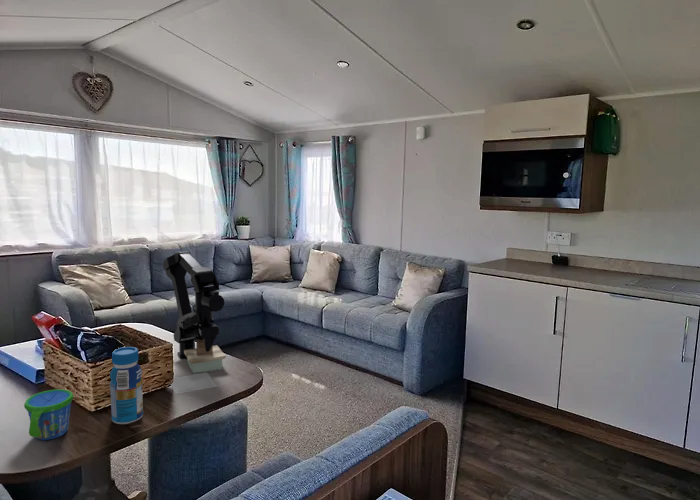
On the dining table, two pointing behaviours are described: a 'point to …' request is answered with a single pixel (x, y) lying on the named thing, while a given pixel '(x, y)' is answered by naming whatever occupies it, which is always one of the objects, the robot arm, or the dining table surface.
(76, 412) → the dining table surface
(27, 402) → the snack cup
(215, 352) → the lid
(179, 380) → the mat
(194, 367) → the dish
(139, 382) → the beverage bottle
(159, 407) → the dining table surface
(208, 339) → the robot arm
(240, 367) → the dining table surface
